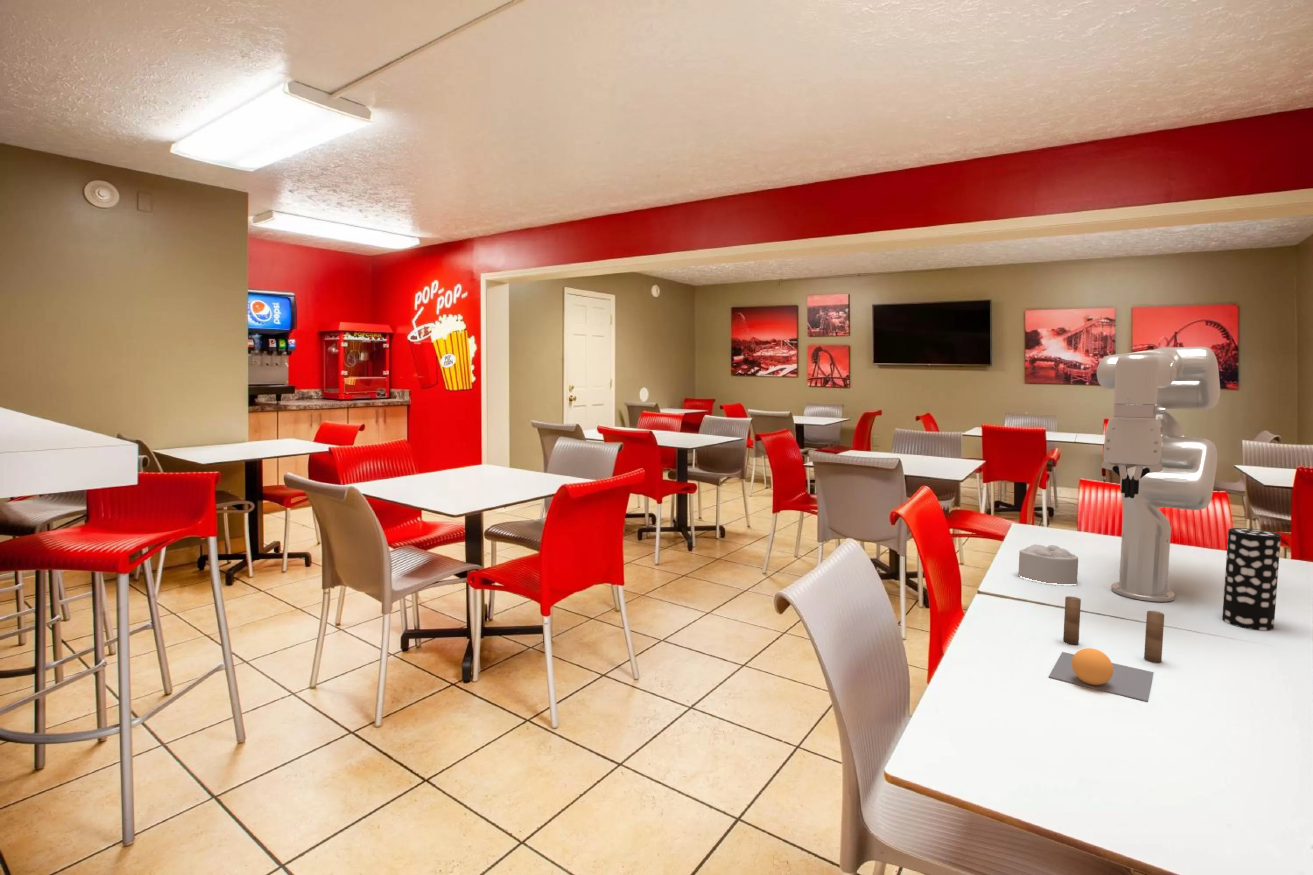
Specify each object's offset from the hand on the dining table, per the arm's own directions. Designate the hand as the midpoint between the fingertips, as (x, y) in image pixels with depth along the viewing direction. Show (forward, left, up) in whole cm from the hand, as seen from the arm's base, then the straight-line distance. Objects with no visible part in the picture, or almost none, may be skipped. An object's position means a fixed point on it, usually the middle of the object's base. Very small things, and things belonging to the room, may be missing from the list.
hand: (1129, 497), depth 143 cm
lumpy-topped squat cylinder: (-23, -18, -27) cm, 40 cm away
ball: (+42, -1, -24) cm, 48 cm away
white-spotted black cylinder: (-14, +21, -27) cm, 37 cm away
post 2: (+23, +6, -27) cm, 36 cm away
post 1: (+23, -7, -27) cm, 36 cm away
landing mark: (+37, 0, -27) cm, 46 cm away
